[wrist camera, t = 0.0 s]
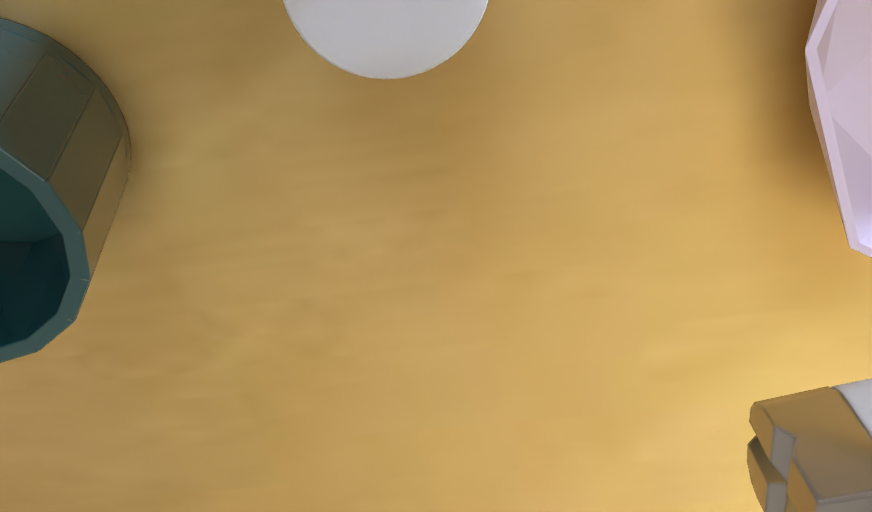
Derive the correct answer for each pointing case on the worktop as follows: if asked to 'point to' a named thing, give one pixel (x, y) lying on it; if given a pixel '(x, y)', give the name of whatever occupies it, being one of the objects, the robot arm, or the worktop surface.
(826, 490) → the robot arm
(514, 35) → the worktop surface
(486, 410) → the worktop surface
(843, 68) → the fruit bowl
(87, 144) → the holder
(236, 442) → the worktop surface
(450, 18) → the pill bottle
